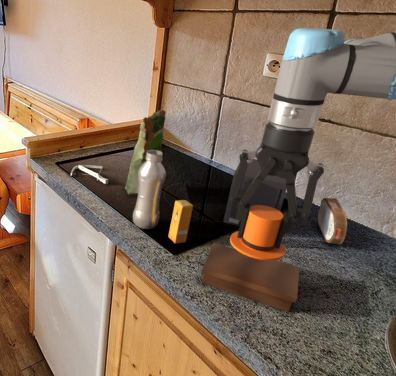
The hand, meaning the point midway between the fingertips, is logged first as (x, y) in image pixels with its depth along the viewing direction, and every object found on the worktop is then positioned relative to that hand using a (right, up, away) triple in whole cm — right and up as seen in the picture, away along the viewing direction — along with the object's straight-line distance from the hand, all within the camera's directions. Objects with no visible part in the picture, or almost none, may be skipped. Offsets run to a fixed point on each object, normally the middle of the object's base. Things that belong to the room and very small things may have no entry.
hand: (258, 239), depth 79 cm
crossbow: (-29, +14, +53) cm, 62 cm away
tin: (+28, -2, +23) cm, 37 cm away
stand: (0, -10, +5) cm, 11 cm away
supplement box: (-10, -3, +19) cm, 22 cm away
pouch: (-14, +8, +42) cm, 45 cm away
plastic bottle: (-17, 0, +25) cm, 30 cm away
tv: (+13, +2, +30) cm, 33 cm away
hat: (0, -1, +1) cm, 1 cm away
